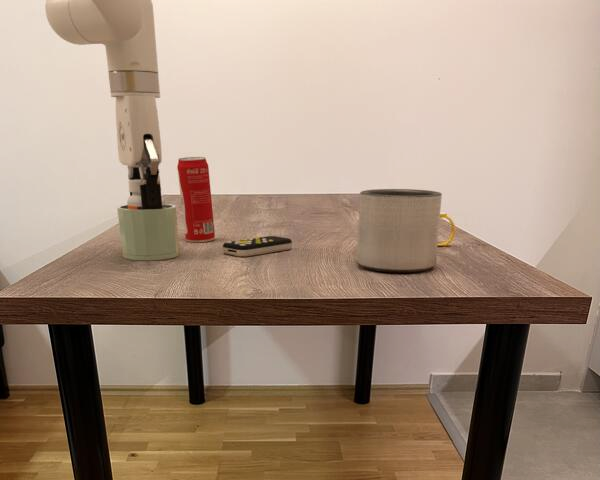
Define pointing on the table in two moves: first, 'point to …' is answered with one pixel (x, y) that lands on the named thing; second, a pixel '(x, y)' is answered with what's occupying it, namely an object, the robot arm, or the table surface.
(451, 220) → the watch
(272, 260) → the table surface
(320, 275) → the table surface
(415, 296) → the table surface
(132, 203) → the pill bottle
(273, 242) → the remote control
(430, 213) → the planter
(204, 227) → the beverage can
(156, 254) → the holder
